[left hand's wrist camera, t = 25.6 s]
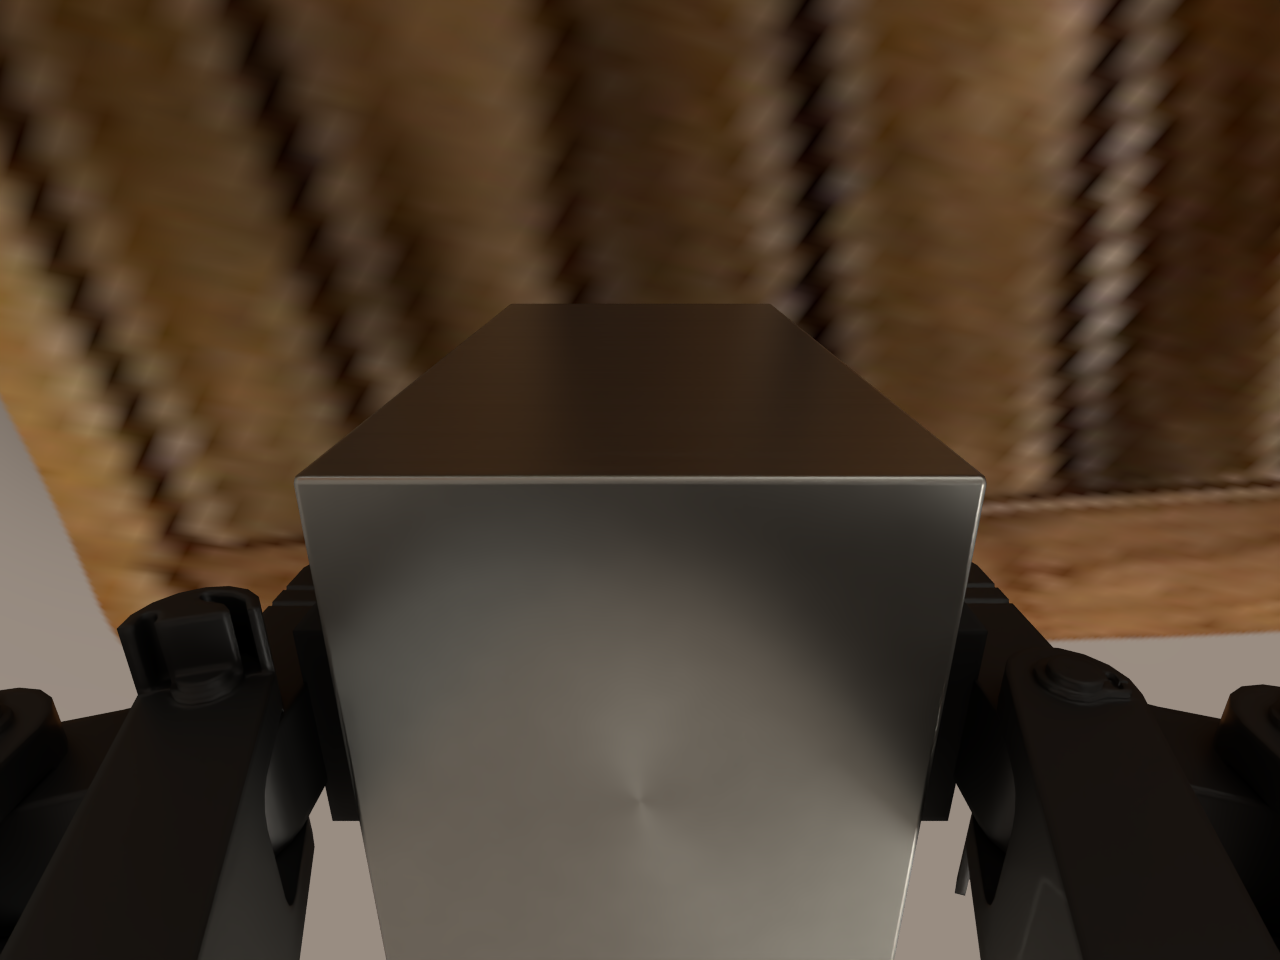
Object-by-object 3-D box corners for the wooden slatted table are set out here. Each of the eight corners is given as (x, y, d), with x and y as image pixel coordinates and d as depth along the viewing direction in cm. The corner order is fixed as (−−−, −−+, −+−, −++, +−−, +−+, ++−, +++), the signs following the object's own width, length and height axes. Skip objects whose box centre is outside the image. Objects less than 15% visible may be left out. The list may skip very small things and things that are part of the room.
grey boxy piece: (527, 581, 19) (396, 1025, 9) (509, 303, 16) (288, 476, 6) (752, 582, 19) (884, 1026, 9) (772, 303, 16) (991, 476, 6)
